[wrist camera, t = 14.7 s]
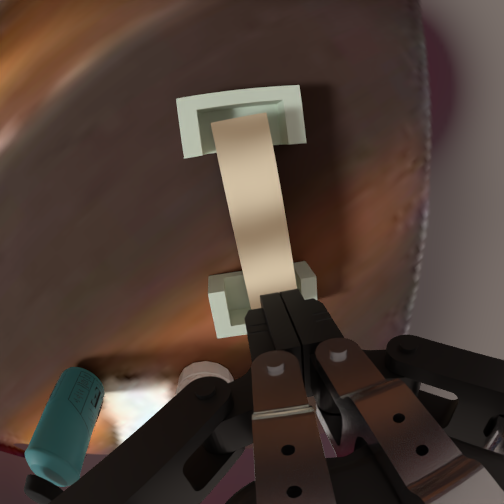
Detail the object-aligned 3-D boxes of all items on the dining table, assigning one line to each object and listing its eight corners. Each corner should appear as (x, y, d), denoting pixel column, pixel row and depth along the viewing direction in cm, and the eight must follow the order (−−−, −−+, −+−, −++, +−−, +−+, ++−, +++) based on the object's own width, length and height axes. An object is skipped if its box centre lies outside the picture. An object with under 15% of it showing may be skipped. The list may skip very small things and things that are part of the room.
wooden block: (211, 127, 26) (210, 123, 21) (256, 119, 26) (266, 112, 21) (249, 297, 32) (255, 330, 27) (287, 289, 32) (301, 319, 27)
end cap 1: (181, 104, 26) (176, 98, 22) (288, 92, 27) (299, 85, 23) (188, 156, 28) (184, 158, 24) (295, 143, 28) (306, 143, 25)
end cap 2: (307, 302, 34) (317, 321, 31) (217, 317, 34) (217, 338, 30) (305, 260, 33) (316, 276, 29) (208, 275, 32) (207, 293, 28)
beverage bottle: (56, 361, 34) (-3, 478, 15) (94, 354, 34) (39, 487, 15) (81, 396, 36) (40, 512, 17) (118, 391, 36) (85, 520, 17)
